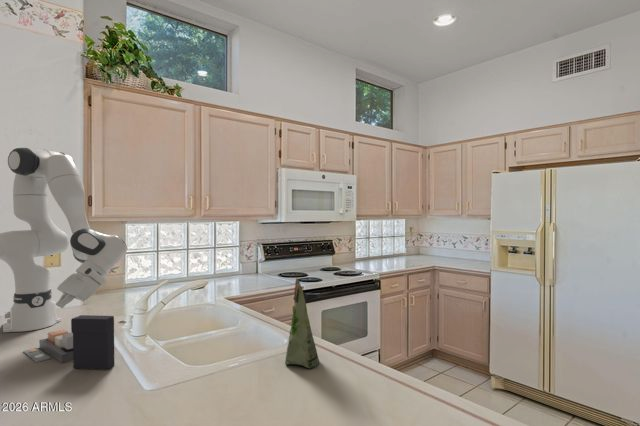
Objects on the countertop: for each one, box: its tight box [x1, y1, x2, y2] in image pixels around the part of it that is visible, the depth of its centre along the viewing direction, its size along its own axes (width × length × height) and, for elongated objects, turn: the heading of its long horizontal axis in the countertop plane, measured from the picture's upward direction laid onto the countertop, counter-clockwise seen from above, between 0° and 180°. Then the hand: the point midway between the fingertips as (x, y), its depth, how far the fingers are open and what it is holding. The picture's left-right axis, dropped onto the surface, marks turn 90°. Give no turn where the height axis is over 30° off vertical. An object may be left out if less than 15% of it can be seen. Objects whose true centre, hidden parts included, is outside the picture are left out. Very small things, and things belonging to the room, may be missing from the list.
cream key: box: [55, 335, 63, 348], centre depth 121 cm, size 5×5×4 cm
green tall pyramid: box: [285, 277, 320, 369], centre depth 110 cm, size 11×12×25 cm
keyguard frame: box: [39, 337, 73, 364], centre depth 121 cm, size 22×9×2 cm, turn 52°
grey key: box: [62, 331, 73, 349], centre depth 117 cm, size 5×5×4 cm
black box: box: [70, 314, 115, 371], centre depth 108 cm, size 11×4×15 cm, turn 84°
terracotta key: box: [47, 328, 69, 343], centre depth 125 cm, size 5×5×4 cm
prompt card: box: [22, 347, 51, 363], centre depth 117 cm, size 14×4×1 cm, turn 52°
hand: (58, 306), depth 126 cm, fingers closed
